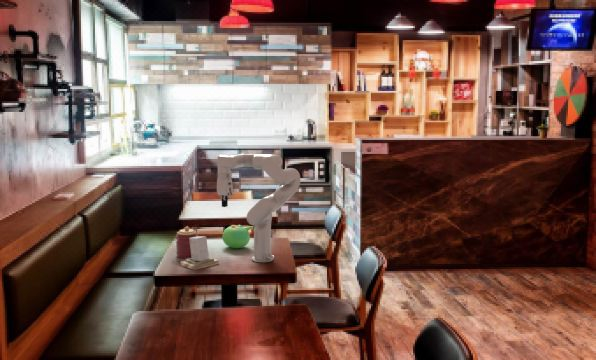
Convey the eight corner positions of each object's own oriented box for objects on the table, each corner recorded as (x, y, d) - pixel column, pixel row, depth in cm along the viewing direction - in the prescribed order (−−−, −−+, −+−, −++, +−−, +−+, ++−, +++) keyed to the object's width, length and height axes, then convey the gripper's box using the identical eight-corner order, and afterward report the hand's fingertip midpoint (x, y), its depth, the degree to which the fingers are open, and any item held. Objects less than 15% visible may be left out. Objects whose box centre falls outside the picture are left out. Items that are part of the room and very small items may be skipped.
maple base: (218, 263, 364) (218, 258, 364) (194, 270, 352) (194, 264, 352) (204, 259, 373) (204, 253, 373) (180, 265, 361) (180, 259, 361)
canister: (174, 258, 374) (173, 229, 371) (178, 252, 387) (177, 224, 384) (197, 258, 374) (196, 229, 371) (199, 252, 387) (199, 224, 384)
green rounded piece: (217, 247, 400) (217, 224, 397) (239, 242, 411) (238, 220, 409) (234, 252, 387) (234, 229, 384) (256, 248, 398) (256, 224, 396)
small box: (209, 259, 362) (206, 236, 361) (200, 261, 357) (197, 238, 356) (200, 258, 367) (198, 236, 367) (191, 260, 363) (188, 237, 362)
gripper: (237, 176, 373) (237, 207, 376) (221, 173, 384) (221, 204, 387) (227, 178, 368) (227, 209, 371) (211, 175, 378) (211, 205, 381)
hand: (224, 206), depth 379 cm, fingers closed
